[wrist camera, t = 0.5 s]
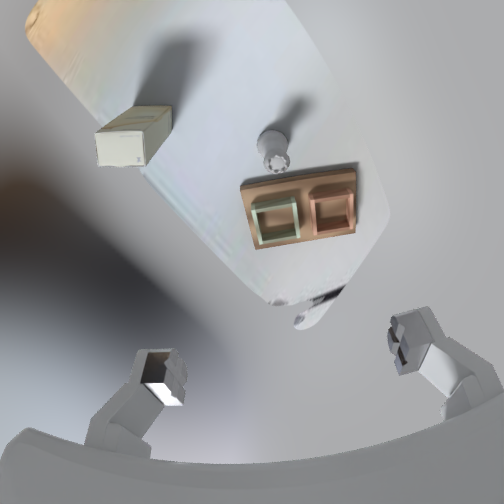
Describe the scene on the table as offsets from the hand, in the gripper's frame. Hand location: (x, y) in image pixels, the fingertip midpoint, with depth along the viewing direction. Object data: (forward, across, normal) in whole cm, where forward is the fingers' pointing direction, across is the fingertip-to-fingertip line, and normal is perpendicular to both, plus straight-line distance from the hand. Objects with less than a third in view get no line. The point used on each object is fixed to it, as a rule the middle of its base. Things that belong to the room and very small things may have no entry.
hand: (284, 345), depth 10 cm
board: (+36, -5, +13) cm, 39 cm away
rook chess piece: (+35, -2, +1) cm, 35 cm away
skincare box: (+34, +14, -6) cm, 38 cm away
